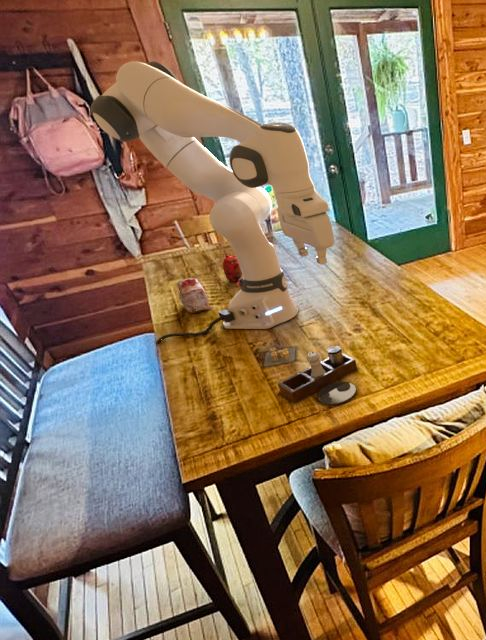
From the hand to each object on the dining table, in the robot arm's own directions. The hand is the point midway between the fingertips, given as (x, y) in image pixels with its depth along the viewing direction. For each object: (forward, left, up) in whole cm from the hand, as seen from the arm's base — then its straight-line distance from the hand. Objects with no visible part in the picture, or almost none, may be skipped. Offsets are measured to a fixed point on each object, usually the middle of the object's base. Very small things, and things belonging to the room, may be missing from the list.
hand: (313, 259), depth 119 cm
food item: (-55, +42, -28) cm, 75 cm away
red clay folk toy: (-50, +66, -28) cm, 87 cm away
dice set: (-16, +3, -28) cm, 32 cm away
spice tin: (+2, -7, -28) cm, 29 cm away
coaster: (+3, -18, -28) cm, 33 cm away
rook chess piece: (-2, -11, -28) cm, 30 cm away
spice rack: (-2, -11, -28) cm, 30 cm away
